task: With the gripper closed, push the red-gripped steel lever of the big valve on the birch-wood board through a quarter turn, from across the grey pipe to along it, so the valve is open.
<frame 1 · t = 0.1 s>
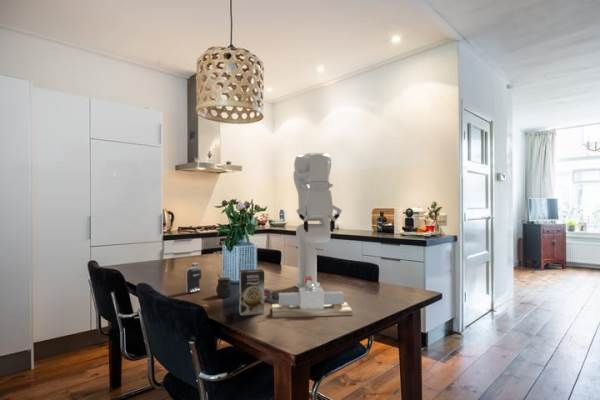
hand: (319, 231, 134), 31 cm above the table, tool pointing down, fingers open, 9 cm apart
walkie-talkie: (267, 300, 154), on the table
valve board: (311, 311, 136), on the table
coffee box: (251, 313, 135), on the table
mate gourd: (223, 296, 160), on the table
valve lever: (309, 282, 143), point 10 cm above the table, hinge at 0.0°
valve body: (311, 298, 136), point 5 cm above the table
battery charger: (193, 292, 166), on the table
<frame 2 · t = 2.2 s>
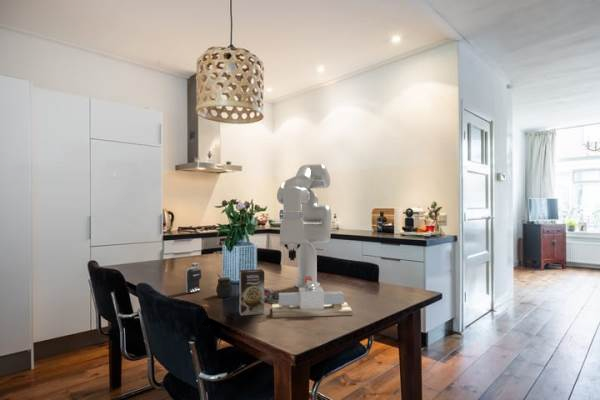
hand: (292, 259, 146), 18 cm above the table, tool pointing down, fingers closed
nothing on the table moved.
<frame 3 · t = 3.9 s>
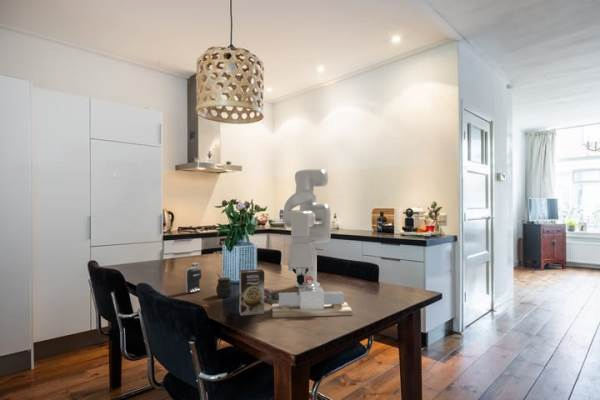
hand: (300, 284, 147), 8 cm above the table, tool pointing down, fingers closed
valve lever: (309, 282, 143), point 10 cm above the table, hinge at 2.0°, touching gripper
everything else where it was.
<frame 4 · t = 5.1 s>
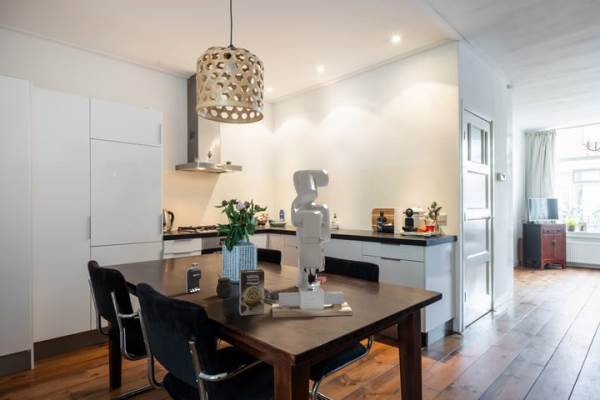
hand: (311, 284, 147), 8 cm above the table, tool pointing down, fingers closed
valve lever: (316, 282, 142), point 10 cm above the table, hinge at 26.8°, touching gripper
everything else where it was.
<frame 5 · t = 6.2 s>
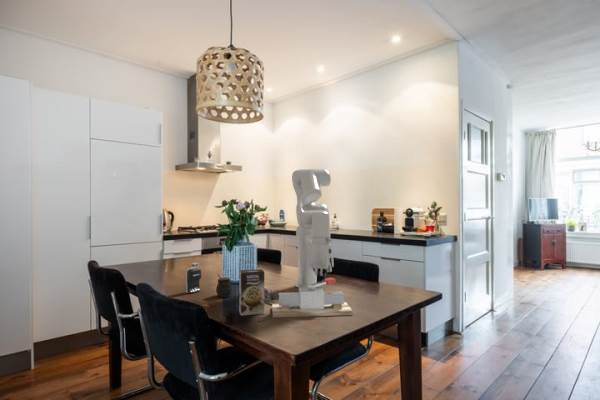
hand: (320, 284, 147), 8 cm above the table, tool pointing down, fingers closed
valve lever: (321, 283, 141), point 10 cm above the table, hinge at 45.7°, touching gripper
everything else where it was.
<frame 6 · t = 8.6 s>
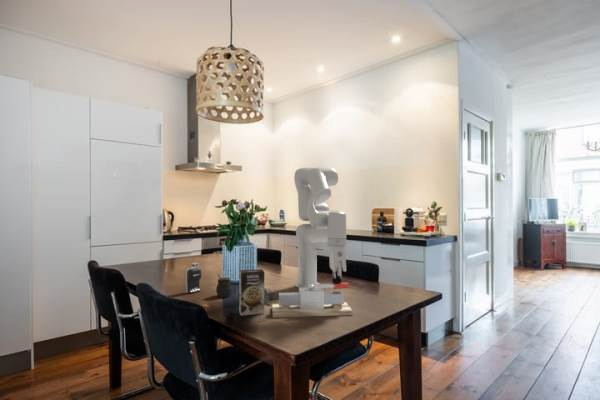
hand: (336, 288, 140), 8 cm above the table, tool pointing down, fingers closed
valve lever: (328, 285, 136), point 10 cm above the table, hinge at 91.9°, touching gripper
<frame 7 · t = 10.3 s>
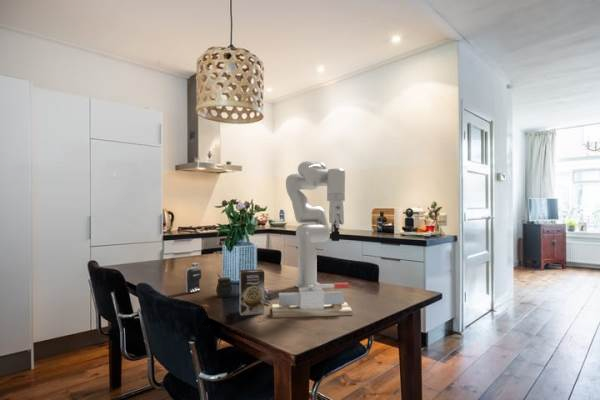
hand: (335, 240, 149), 26 cm above the table, tool pointing down, fingers closed
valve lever: (328, 285, 136), point 10 cm above the table, hinge at 92.1°
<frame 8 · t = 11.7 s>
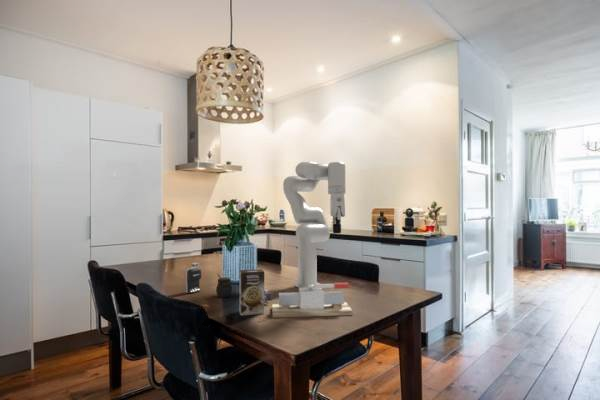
hand: (337, 233, 151), 29 cm above the table, tool pointing down, fingers closed
at the end: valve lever at +92° (first picture: +0°) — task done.
